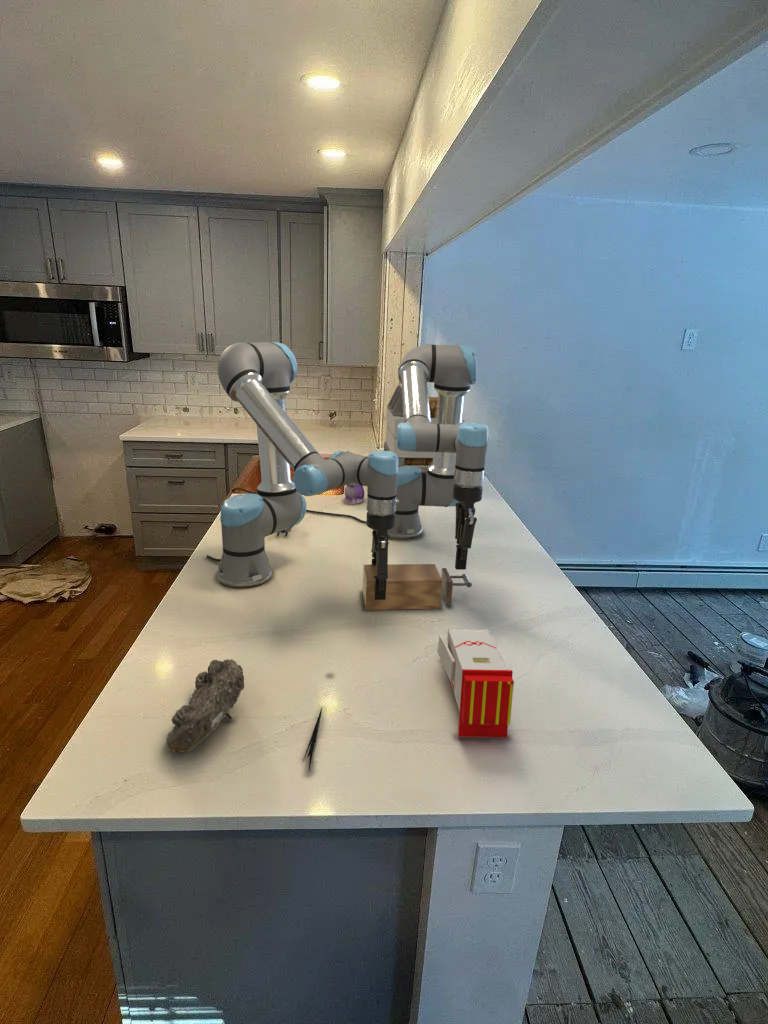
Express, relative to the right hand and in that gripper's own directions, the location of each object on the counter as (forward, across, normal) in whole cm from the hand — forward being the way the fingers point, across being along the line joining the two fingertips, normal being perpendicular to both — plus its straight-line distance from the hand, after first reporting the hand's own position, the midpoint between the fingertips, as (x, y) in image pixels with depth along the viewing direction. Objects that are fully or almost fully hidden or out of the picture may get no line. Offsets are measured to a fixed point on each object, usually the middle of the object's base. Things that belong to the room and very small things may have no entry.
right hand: (460, 568), depth 153 cm
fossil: (+10, -44, +58) cm, 74 cm away
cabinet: (+10, 0, +16) cm, 18 cm away
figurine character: (+9, +51, +50) cm, 72 cm away
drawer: (+9, 0, +9) cm, 13 cm away
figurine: (+9, +84, +23) cm, 87 cm away
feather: (+10, -46, +38) cm, 60 cm away
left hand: (+6, 0, +22) cm, 23 cm away
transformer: (+8, +126, -11) cm, 127 cm away
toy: (+10, -39, +7) cm, 41 cm away
